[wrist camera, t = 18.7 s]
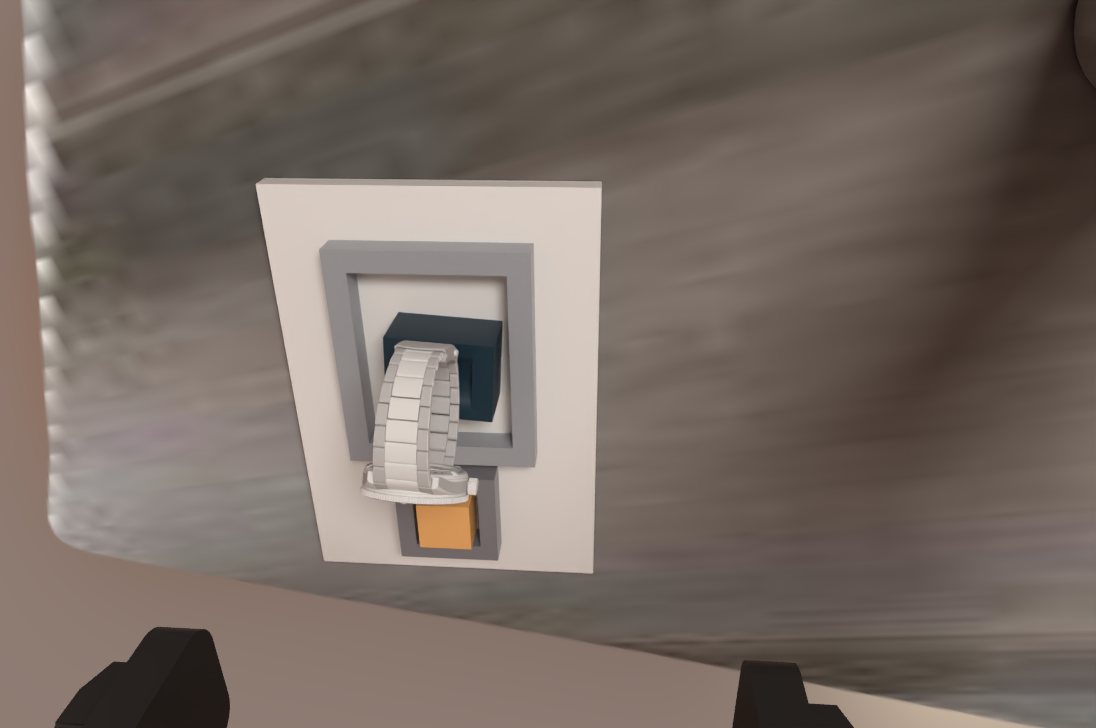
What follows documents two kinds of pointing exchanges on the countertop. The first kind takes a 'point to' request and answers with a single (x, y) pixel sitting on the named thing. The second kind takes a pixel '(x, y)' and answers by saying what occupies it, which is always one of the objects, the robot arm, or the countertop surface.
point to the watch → (431, 406)
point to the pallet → (458, 291)
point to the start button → (447, 525)
